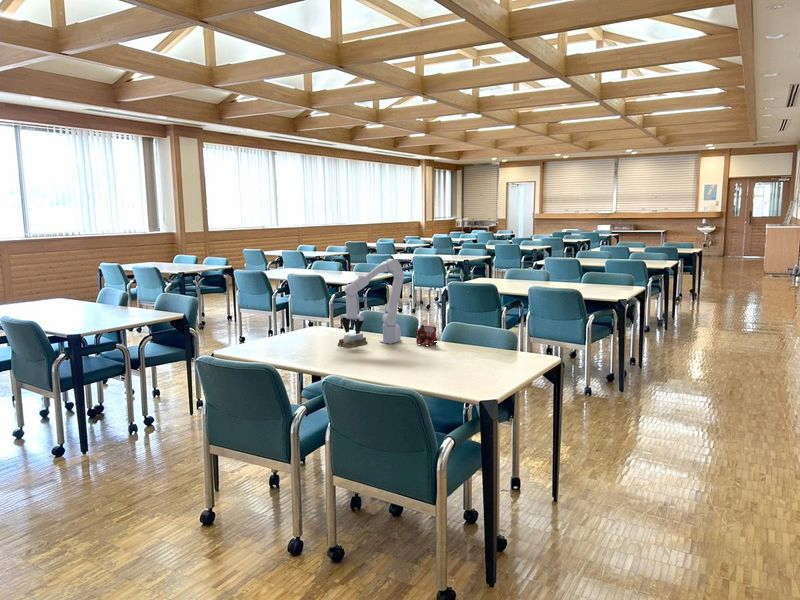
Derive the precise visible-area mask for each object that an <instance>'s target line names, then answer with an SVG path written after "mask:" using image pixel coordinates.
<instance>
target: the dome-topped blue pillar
mask: <svg viewBox="0 0 800 600" xmlns="http://www.w3.org/2000/svg"><path fill="white" fill-rule="evenodd" d="M363 337H364V333H362V332H360V334H356V332H354V333H349V334H346V335H344V336H343V338H342V339H343V341H344V343H346V344H349V341H351V340H355V339H359V338H363Z"/></svg>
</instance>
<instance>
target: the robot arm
mask: <svg viewBox="0 0 800 600" xmlns="http://www.w3.org/2000/svg"><path fill="white" fill-rule="evenodd" d="M388 272H390V274H391V275H392V277H393V281H392V286H391V290H390V293H389V298H388V303H387V306H386V308H385V310H384V312H383V314H382V315H381V320H382V322H383V324H382V340H380V341H379V343H383V344H390V345H392V344H395V343H399V342H402V341H403V340H402V338H401V337H402V335H401V327H400V326H399V324H397V322H398V318H397V315H398V310H397V308H398V305H399V300H400V296H401V291H402V288H403V283H404V281H405V274H404V271H403V268H402V265H401V263H400V262H399V260H397V259H393V258H387V259H386V260H384V261H383V262H381V263H380V264H378V265H377V266H375V268H373V269H372V270H371V271H370V272H368V273H367V274H365V275H364V274H361V275H360V274H359V275H358V277H357V278H356V279H354V280H353V281H350V283H349V284H347V285H345V288H344V292H345V310H346V311H345V312H346V313H345V314H343V313H342V314H340V322H341V324H342V325H343V329H344V332H345V333H349V332H350V325H351V320H353V325H354V328H355V329H354V330H355V333H356V334H360V333H361V328H362V326H363V324H364V316H361V315H358V299H357V294H358V292H360V291H361V290H362V289H364V288H365V287H366V286H367V285H369V284H370V280H371V281H372V279H374V278H375V277H376V276H378V275H379V274H381V273H388Z"/></svg>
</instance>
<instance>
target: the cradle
mask: <svg viewBox="0 0 800 600" xmlns="http://www.w3.org/2000/svg"><path fill="white" fill-rule="evenodd" d="M367 344H368V340H367V337H364V336H363V338H359V339H355V340H351V341H349V344H346V343H344V341H343V338H340V339H338V343H337V346H339V345H341V347H345V346H346V347H347V348H350V347H351V348H352V347H353V348H356V347H359V346H363V345H367ZM346 347H345V348H346Z"/></svg>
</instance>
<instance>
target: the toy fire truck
mask: <svg viewBox="0 0 800 600" xmlns="http://www.w3.org/2000/svg"><path fill="white" fill-rule="evenodd" d="M436 334H437V326H432V325H424V324H420V327H419V328H418V329H417V332H416V342H415V343H416V344H417V345H418V344H422V345H424V346H425V345H428V347H430V346H431V345H432V344H435V345H437V344H438V342H434V341H438V337H437V336H436ZM436 343H437V344H436Z"/></svg>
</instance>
